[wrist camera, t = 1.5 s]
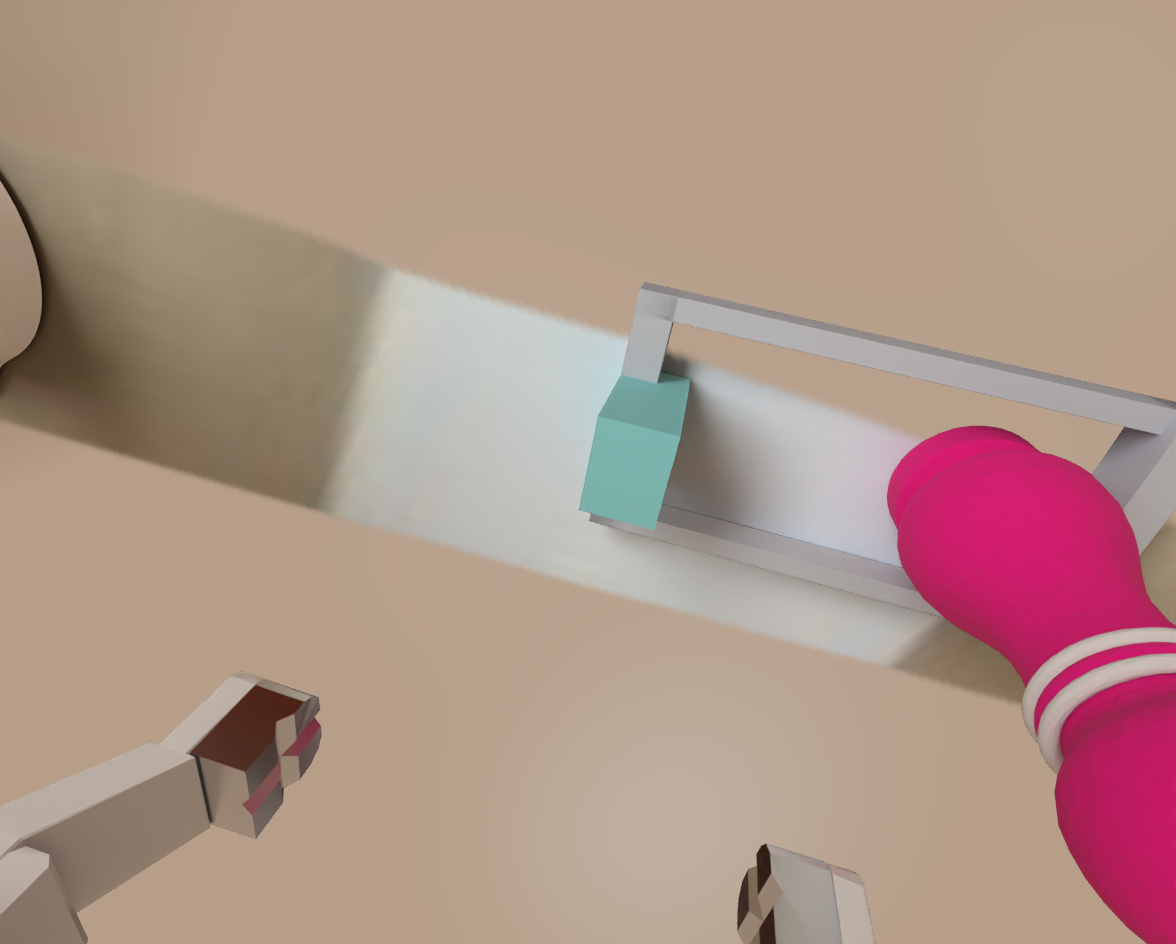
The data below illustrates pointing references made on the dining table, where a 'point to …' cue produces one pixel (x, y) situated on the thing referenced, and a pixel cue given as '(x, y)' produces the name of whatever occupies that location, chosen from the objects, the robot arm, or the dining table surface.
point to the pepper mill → (1060, 643)
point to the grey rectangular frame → (658, 400)
